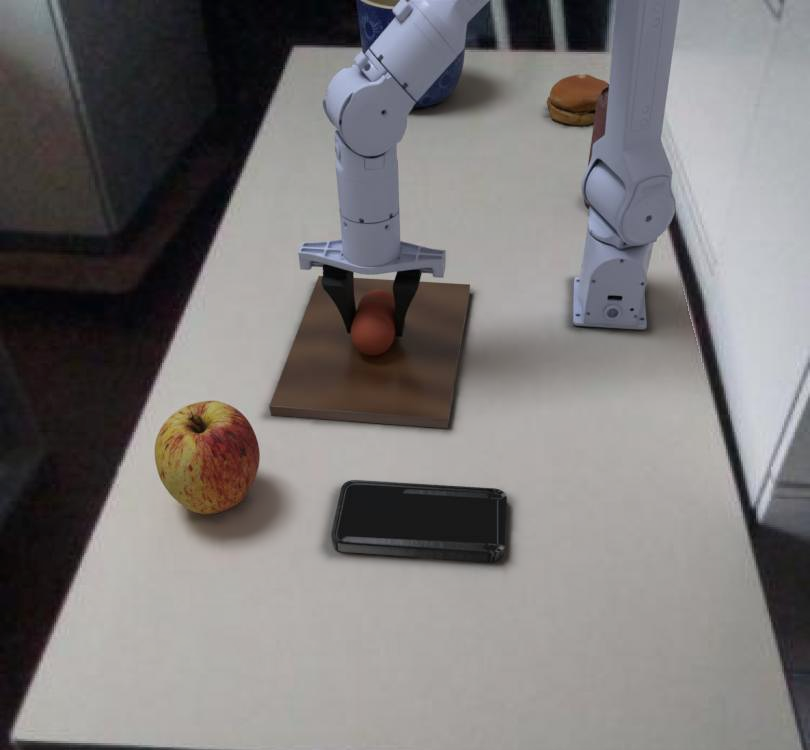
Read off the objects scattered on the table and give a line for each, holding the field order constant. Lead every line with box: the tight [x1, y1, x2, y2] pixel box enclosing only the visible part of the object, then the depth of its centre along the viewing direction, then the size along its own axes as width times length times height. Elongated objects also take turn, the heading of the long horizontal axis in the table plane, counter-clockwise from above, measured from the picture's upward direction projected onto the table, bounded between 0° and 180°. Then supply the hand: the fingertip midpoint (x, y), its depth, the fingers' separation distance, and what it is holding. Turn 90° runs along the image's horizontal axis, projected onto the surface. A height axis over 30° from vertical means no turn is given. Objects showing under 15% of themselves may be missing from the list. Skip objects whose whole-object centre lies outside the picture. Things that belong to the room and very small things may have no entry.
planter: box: [355, 0, 468, 109], centre depth 131 cm, size 17×17×15 cm
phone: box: [330, 479, 508, 563], centre depth 75 cm, size 8×1×15 cm
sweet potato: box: [351, 289, 395, 356], centre depth 91 cm, size 9×5×5 cm, turn 172°
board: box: [268, 275, 471, 429], centre depth 93 cm, size 24×18×1 cm
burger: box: [546, 74, 609, 126], centre depth 130 cm, size 10×9×5 cm
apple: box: [154, 400, 261, 515], centre depth 75 cm, size 9×9×10 cm
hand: (376, 329), depth 91 cm, fingers closed on sweet potato, 4 cm apart
